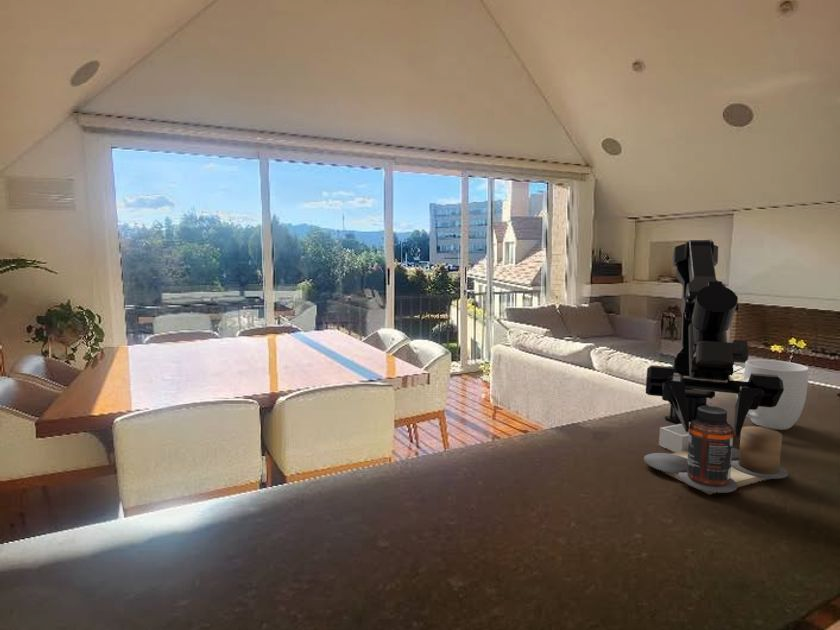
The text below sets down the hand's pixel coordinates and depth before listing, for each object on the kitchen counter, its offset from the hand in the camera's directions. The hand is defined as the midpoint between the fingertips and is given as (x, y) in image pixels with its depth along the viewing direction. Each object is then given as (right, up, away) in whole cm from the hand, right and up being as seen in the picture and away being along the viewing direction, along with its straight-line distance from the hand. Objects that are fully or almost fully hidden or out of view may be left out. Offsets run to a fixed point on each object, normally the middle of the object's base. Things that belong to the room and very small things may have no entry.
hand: (711, 433), depth 76 cm
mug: (+29, -6, +30) cm, 43 cm away
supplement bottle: (+1, -8, +2) cm, 8 cm away
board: (+5, -8, +8) cm, 13 cm away
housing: (+6, -7, +18) cm, 20 cm away
